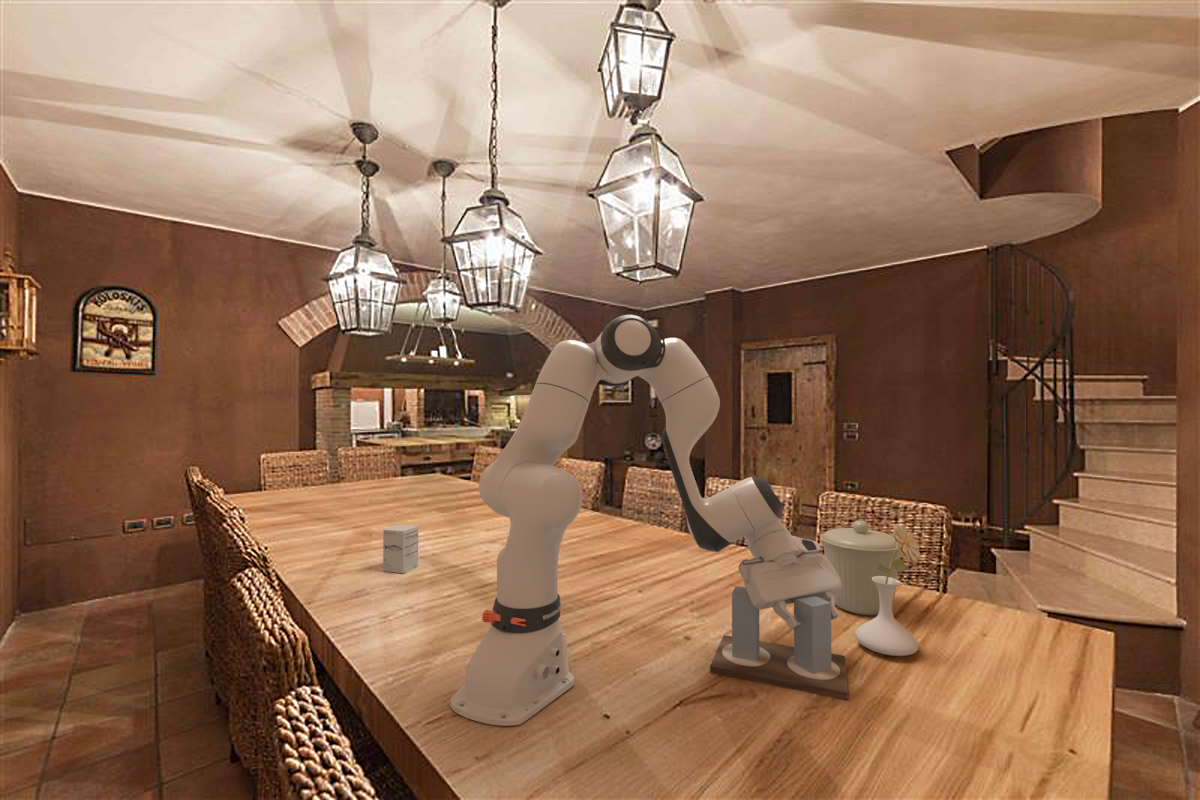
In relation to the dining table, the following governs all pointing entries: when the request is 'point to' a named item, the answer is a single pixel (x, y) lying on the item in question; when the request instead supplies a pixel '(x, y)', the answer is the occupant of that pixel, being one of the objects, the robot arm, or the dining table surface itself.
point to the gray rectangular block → (812, 634)
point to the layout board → (781, 669)
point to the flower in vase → (890, 605)
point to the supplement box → (400, 548)
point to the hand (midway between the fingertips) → (815, 622)
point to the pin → (744, 626)
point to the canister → (859, 565)
